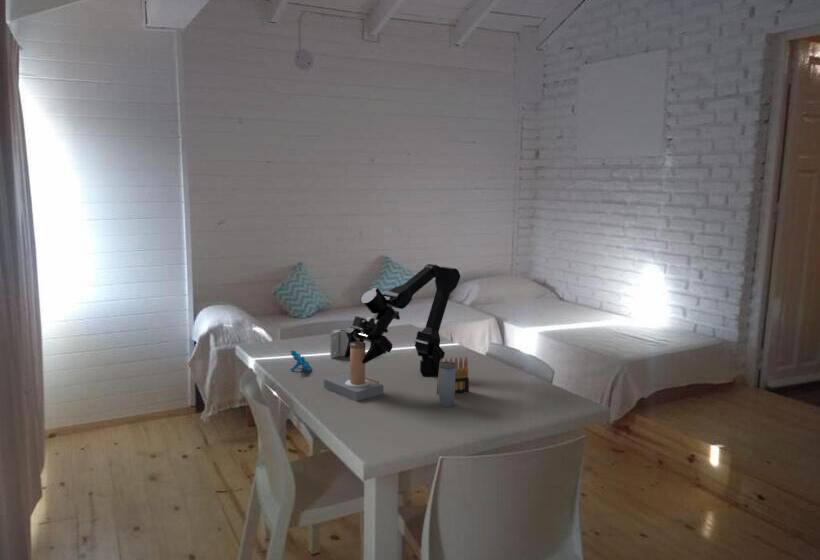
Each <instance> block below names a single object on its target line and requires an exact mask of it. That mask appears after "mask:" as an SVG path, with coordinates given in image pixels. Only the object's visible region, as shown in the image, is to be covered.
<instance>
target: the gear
mask: <svg viewBox="0 0 820 560" xmlns="http://www.w3.org/2000/svg"><path fill="white" fill-rule="evenodd" d="M290 355H291V356H292V357H293V359H294V360H295V361H296V363H295V364H294V365H293V367H291V369H290V371H291V372H294V371H295V370H296V369H297V367H300V366H301V367H302V368H303V369H304V370H306V371H307V372H312V366H311V365H310V363H309V362H308V361H307V360H306V358H305V356H303V355H302V356H301V354H300V352H297V351H296V350H291V351H290Z"/></svg>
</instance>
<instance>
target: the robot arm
mask: <svg viewBox="0 0 820 560" xmlns="http://www.w3.org/2000/svg"><path fill="white" fill-rule="evenodd" d="M434 278H435V280H434V284H435V288H436V291H435V294H434V296H433V297H434V298H433V300H432V304H431V308H430V311H429V314H428V319H427V321H426V324H425V327H424V328H423V329H422V330H418V331H417V332H416V333H417V334H416V338H415V340H414V342H415V343H414V347H415V350H416V352H417V355H418V357H421V359H420V360H419V372H420V374H421V375H422V377H438V372H439V363H440V359H442V360H443V359H444V358H445V354H446V353H445V351H444V350H443V348H441V347H440V345H441V337H440V332H439V331H440V328H441V324H442V322H443V318H444V315H445V311H446V308H447V305H448V302H449V298H450V295H451V293H452V292H453V291H454V290H455V289H456V288H457V287H458V284H459V282H460V279H461V274H460V272H459V270H458V269H457V268H454V267H447V266H439V265H437V264H432V263H431V264H430V263H429V264H428V263H427V264H425V265H424V267H423V268H422V269H421V270H420V271H418V272H417V273H416V274H415V275H413V276H412V277H411V278H410V279H408V280H407V281H406V282H404V283H403V284H401V285H398V286H395V287H393V288H392V289H389V290H387V292H386V293H384V294H383V293H382V292H381V290H380V289H379V288H378V287H373V288H372V289H369V290H368V291H366V292H364V293H363V295H362V296H361V299H360V300H361V303H362V304H363V305H364V306H365V307H366V308H367V309H368V311H370V313H372V314H374V316H373V318H372V317H370V316H369V317H368V316H367V318H364V317H360V316H356V315H355V316H354V319H353V322H352V326H349V327H347V328H346V329H347V330H346V331H345V333H346V334H347V337H348V340H349V341H348V346H347V349H346V352H345V356H344V357H345V358H346V359H348V358H350V343H351V342H364V343H365V341H366V342H368V343H370V347H369V348H368V350H367V352H366V353H365V357H364V359H363V361H362V363H363V364H365V365H366V363H369V362H371V361H372V360H373V359H376V358H378V357H380V356H382V355H384V354H387V353H390V352H391V351H392V349H393V343H392V342H391V341H390V340H389V338H387V337H386V335H383V334H384V333H385V334H388V332H389V330H388V327H389V326H390V324H391V323H392V321H393V320H400V319H401V318H400V312H399V311H398V310H395V309H394V308H396V309H400V310H403V309H405V308H406V307H407V306H408V305H409V304H410V303H411V301H412V298H413V296H414V295H415V294H416V293H417V292H419V291H420V290H421V289H422V288H424V286H426V285H427V284H428V283H430V282H431V281H432V280H433V279H434ZM359 329H360V330H361V332H360V330H359Z"/></svg>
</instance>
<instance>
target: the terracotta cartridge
mask: <svg viewBox="0 0 820 560" xmlns="http://www.w3.org/2000/svg"><path fill="white" fill-rule="evenodd" d="M366 345H367V344H366V342H365V341H364V342H351V343H350V356H349V358H350V359H349V360H350V361H349V362H350V365H349V366H350V367H349V369H350V370H349V373H350V383H351V384H354V385H361V384H364V383H365V376H366V363H365V364H363V363H362V361H363V359H364V357H365V355H366Z"/></svg>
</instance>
